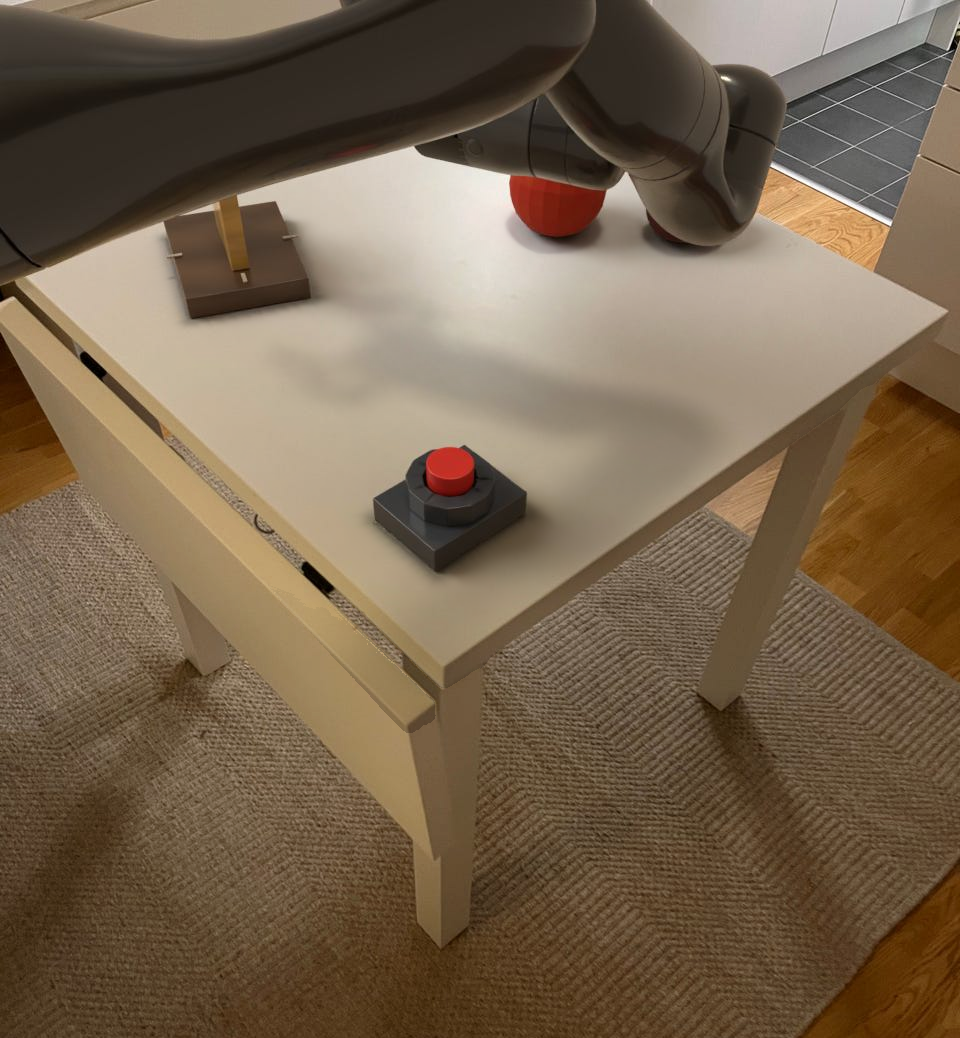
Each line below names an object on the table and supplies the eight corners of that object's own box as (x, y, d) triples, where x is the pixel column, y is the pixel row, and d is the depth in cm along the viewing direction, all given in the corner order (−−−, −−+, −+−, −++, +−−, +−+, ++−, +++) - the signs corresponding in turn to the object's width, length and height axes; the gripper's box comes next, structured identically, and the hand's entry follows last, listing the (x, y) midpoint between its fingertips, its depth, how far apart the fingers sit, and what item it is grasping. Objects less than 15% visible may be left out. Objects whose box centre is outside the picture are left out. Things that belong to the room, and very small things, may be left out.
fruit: (493, 240, 98) (496, 137, 90) (524, 193, 103) (530, 93, 95) (586, 261, 96) (598, 157, 88) (613, 212, 101) (626, 111, 93)
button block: (435, 572, 71) (434, 533, 68) (374, 519, 74) (370, 479, 71) (525, 513, 75) (529, 474, 72) (464, 465, 78) (464, 425, 75)
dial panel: (160, 238, 97) (155, 217, 95) (284, 218, 99) (281, 198, 98) (183, 320, 89) (178, 298, 87) (317, 296, 91) (314, 275, 90)
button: (448, 504, 70) (447, 486, 69) (417, 479, 72) (416, 460, 70) (483, 482, 72) (484, 464, 70) (452, 458, 73) (452, 439, 72)
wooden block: (216, 225, 95) (199, 138, 88) (233, 223, 95) (217, 135, 88) (232, 271, 90) (215, 182, 83) (250, 268, 90) (234, 179, 84)
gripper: (530, 12, 70) (332, -22, 75) (440, 96, 62) (224, 52, 67) (527, 121, 76) (344, 83, 81) (445, 210, 68) (247, 163, 73)
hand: (290, 69), depth 74 cm, fingers open, 8 cm apart
